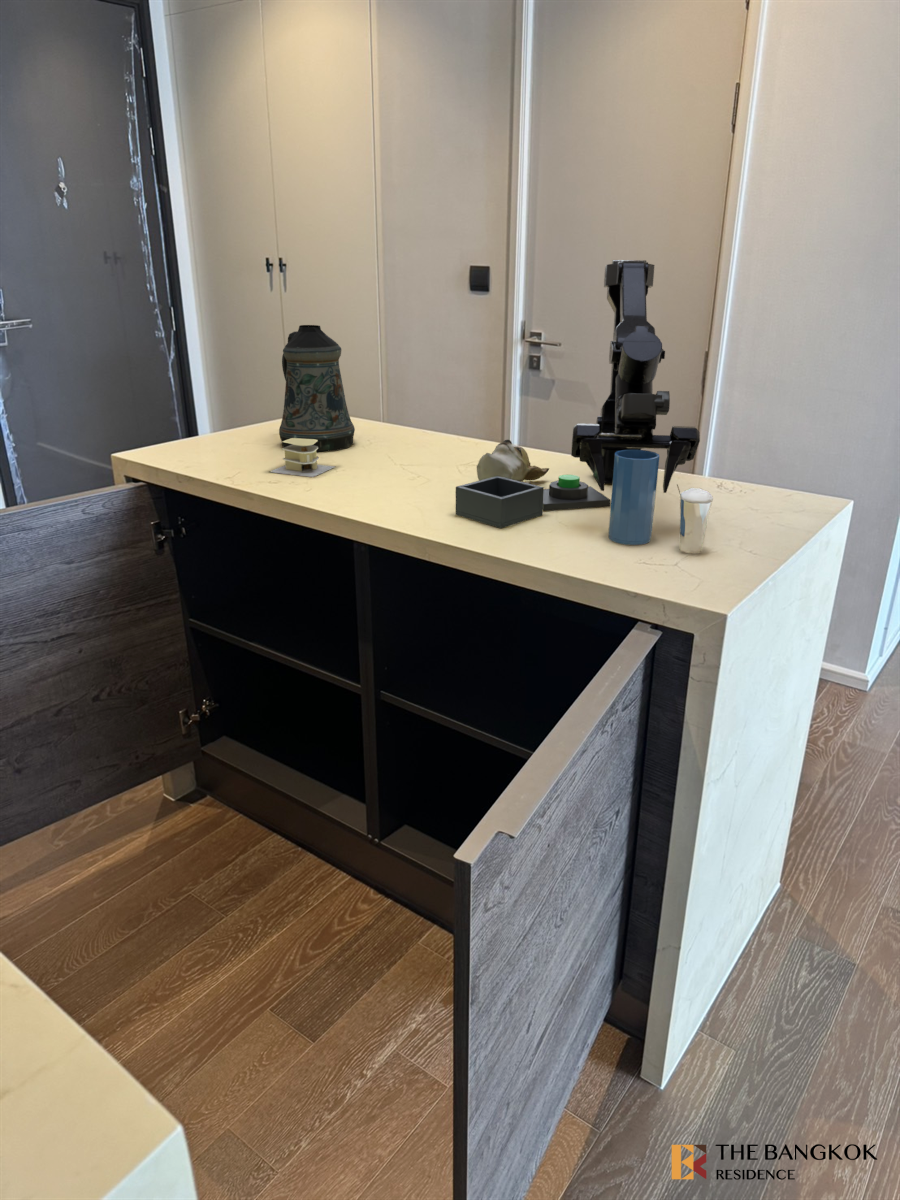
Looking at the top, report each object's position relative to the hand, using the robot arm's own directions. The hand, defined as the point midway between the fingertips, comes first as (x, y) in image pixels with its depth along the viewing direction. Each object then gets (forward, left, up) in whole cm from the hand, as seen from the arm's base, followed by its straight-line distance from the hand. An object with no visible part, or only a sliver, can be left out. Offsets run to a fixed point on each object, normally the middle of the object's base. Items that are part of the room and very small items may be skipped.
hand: (633, 490), depth 128 cm
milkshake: (-6, +7, -8) cm, 12 cm away
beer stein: (+41, -77, -8) cm, 88 cm away
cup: (0, 0, -8) cm, 8 cm away
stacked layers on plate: (+45, -54, -8) cm, 71 cm away
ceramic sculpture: (+9, -34, -8) cm, 36 cm away
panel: (+2, -21, -8) cm, 23 cm away
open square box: (+16, -16, -8) cm, 24 cm away
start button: (+2, -21, -5) cm, 22 cm away
